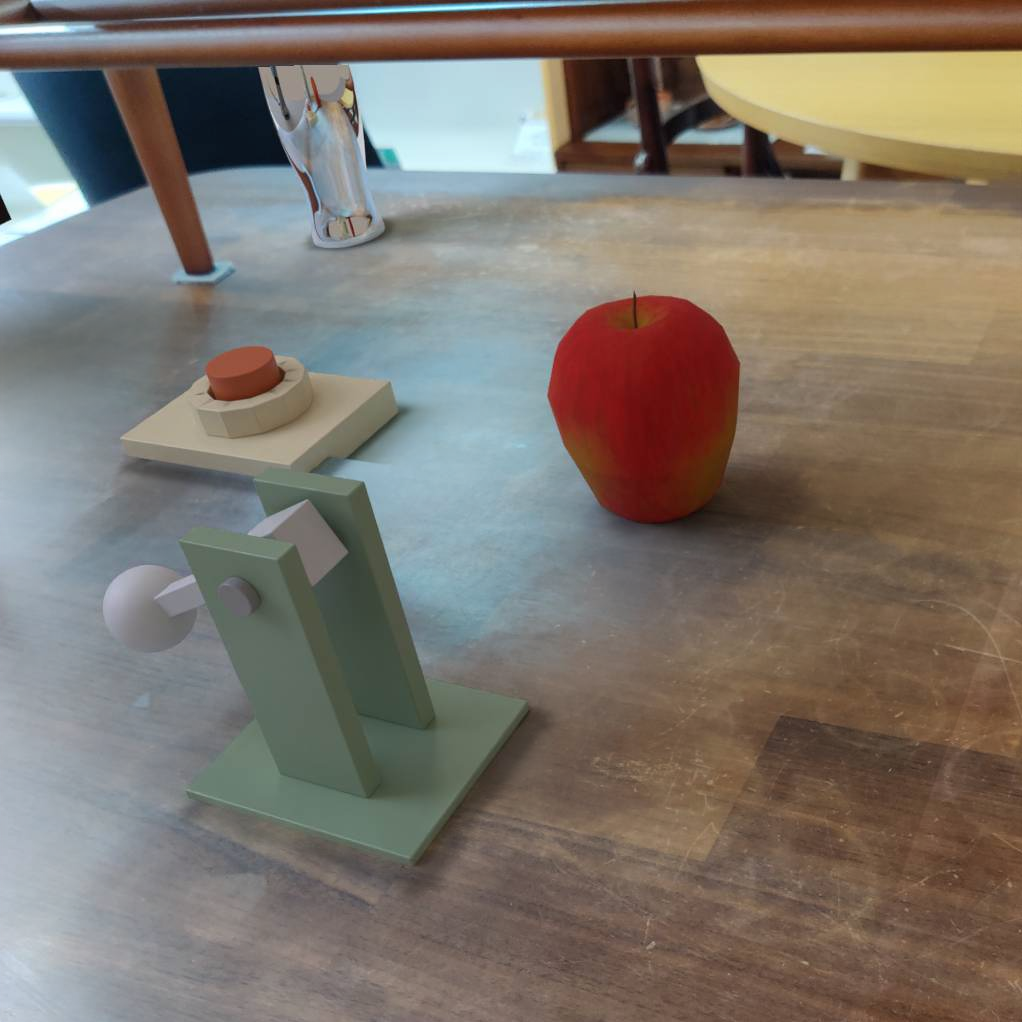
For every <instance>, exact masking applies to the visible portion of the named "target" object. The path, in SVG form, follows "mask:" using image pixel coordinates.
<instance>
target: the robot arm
mask: <svg viewBox="0 0 1022 1022" xmlns="http://www.w3.org/2000/svg"><path fill="white" fill-rule="evenodd" d="M10 221H12V217H11V215H10V212H9V209H8V207H7V205H6V203H5V200H4V199H3V197H2V195H1V193H0V226H2V225H4V224H5V223H7V222H10Z"/></svg>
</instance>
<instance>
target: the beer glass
mask: <svg viewBox="0 0 1022 1022" xmlns="http://www.w3.org/2000/svg"><path fill="white" fill-rule="evenodd" d="M257 68H258V73H259V78H260V82H261V87H262V91H263V95H264V99H265V102H266V107H267V111H268V113H269V116H270V119H271V123H272V124H273V128H274V130H275V132H276V135H277V137H278V139H279V141H280V144H281V146H282V149H283V150H284V153H285V154H286V157H287V159H288V162H289V163H290V165H291V167H292V169H293V171H294V173H295V175H296V177H297V180H298V182H299V184H300V186H301V189H302V191H303V194H304V197H305V201H306V203H307V209H308V212H309V213H308V214H309V219H310V227H311V229H310V230H311V237H312V242H313V243H314V245H315V246H317V247H320V248H322V249H344V248H350V247H355V246H359V245H362V244H365V243H368V242H371V241H372V240H374V239H376V238H378V237H380V236H381V235H382V234H383V233H384V232H385V230H386V226H385V222H384V220H383V217H382V216H381V213H380V211H379V209H378V206H377V205H376V203H375V199H374V198H373V194H372V190H371V188H370V182H369V177H368V169H367V160H366V148H365V147H366V146H365V137H364V126H363V119H362V113H361V107H360V106H361V105H360V101H359V97H358V93H357V88H356V85H355V81H354V79H353V74H352V72H351V68H350V65H349V64H348V65H294V66H270V67H258V66H257Z"/></svg>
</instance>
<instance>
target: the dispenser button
mask: <svg viewBox="0 0 1022 1022" xmlns="http://www.w3.org/2000/svg"><path fill="white" fill-rule="evenodd" d="M274 355H275V354H274V352H273V350H272V349H270V348H269V347H266V346H261V345H260V346H259V345H250V346H242V347H237V348H234V349H230V350H227V351H224V352H223V353H221V354H218V355H216V356H215V357H213V358H212V359H211V360H209V361H208V363H207V364H206V366H205V368H204V370H205V371H204V372H205V375H206V374H207V377H208V380H209V382H210V385H211V387H212V390H213V393H214V395H215V398H216V399H217V400H221V401H229V402H231V401H237V400H244V399H250V398H253V397H256V396H258V395H261V394H263V393H266V392H269V391H271V390H272V389H273V388H274V387H276V386H277V385H278V384H280V383H281V381H282V378H281V375H280V372H279V369H278V366H277V363H276V360H275V357H274Z"/></svg>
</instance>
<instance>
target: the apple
mask: <svg viewBox="0 0 1022 1022" xmlns="http://www.w3.org/2000/svg"><path fill="white" fill-rule="evenodd" d="M734 349H735V348H734V347H733V345H732V343H731V341H730V339H729V337H728V335H727V332H726V330H725V328H724V326H723V325H722V324H721V323H720V322H718V320H716V318H715V317H714V316H712V315H711V314H710V313H709V312H707V311H706V310H704V309H702V308H701V307H700V306H698V305H697V304H695V303H693V302H692V301H690V300H689V299H686V298H683V297H682V298H681V297H677V296H671V295H654V294H649V295H648V294H647V295H642V296H637V294H636V292H635V290H633V295H632V297H628V298H623V299H618V300H613V301H608V302H604V303H602V304H598V305H597V306H594V307H591V308H589V309H586V311H585V312H583V313H582V315H580V316H579V317H578V318H577V319H576V320H575V322H574V323H573V324H572V325H571V326H570V328H569V329H568V331H567V332H566V333H565V335H564V336H563V337H562V338H561V340H560V341H559V342H558V344H557V348H556V350H555V353H554V357H553V361H552V367H551V372H550V378H549V383H548V389H547V394H546V397H547V400H548V403H549V405H550V409H551V411H552V415H553V418H554V421H555V424H556V426H557V430H558V432H559V436H560V438H561V442H562V444H563V447H564V449H565V450H566V451H567V453H568V455H569V456H570V457H571V459H572V461H573V462H574V464H575V466H576V468H577V469H578V470H579V473H580V474H581V475H582V477H583V479H584V480H585V482H586V484H587V485H588V487H589V489H590V490H591V492H592V494H593V495H594V496H595V498H596V500H597V502H598V503H599V505H600V506H601V507H603V508H605V509H607V510H608V511H610V512H612V513H614V514H616V515H618V516H620V517H622V518H624V519H626V520H630V521H635V522H639V523H667V522H671V521H675V520H677V519H681V518H686V517H687V516H690V514H692V513H693V512H697V511H699V510H700V509H701V508H702V507H703V506H704V505H705V504H707V502H708V501H710V500H711V499H712V498H713V496H714V495H715V494H716V492H718V490H719V489H720V487H721V486H722V485H723V482H724V478H725V473H726V470H727V466H728V463H729V459H730V455H731V452H732V447H733V444H734V441H735V436H736V431H737V423H738V417H739V416H738V414H739V394H740V374H741V361H740V359H739V358H738V355H737V353H736V351H735V350H734Z"/></svg>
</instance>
